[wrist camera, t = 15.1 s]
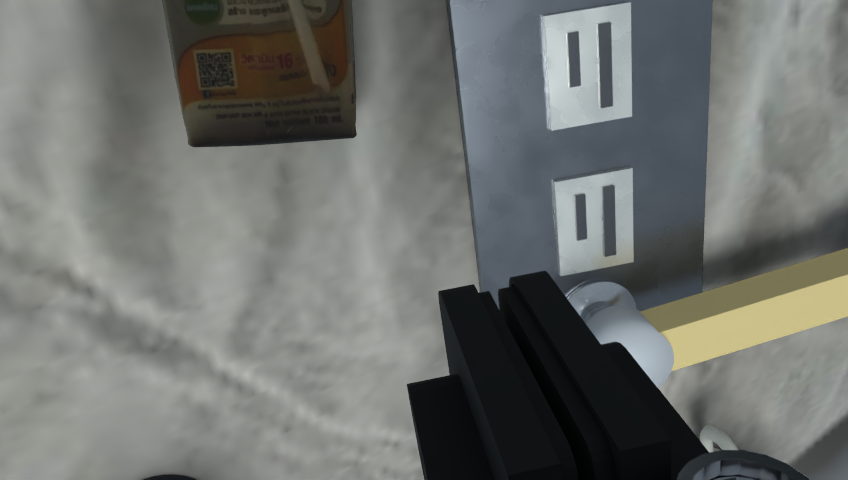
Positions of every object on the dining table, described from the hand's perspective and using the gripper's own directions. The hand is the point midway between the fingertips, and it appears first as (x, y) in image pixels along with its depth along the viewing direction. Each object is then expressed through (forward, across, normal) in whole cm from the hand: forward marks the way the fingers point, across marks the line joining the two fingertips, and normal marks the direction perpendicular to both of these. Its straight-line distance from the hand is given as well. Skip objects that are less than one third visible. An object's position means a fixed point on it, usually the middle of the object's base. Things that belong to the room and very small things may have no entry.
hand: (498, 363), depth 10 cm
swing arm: (+24, -19, +16) cm, 34 cm away
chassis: (+27, -12, +6) cm, 30 cm away
